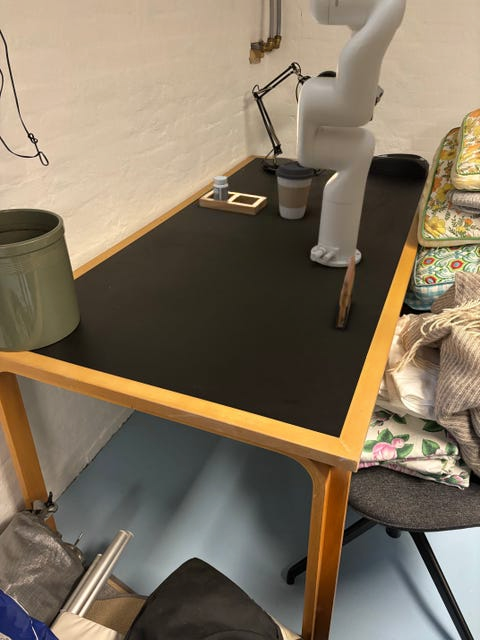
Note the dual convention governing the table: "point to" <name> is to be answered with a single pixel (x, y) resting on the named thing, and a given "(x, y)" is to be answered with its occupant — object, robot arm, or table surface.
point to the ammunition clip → (346, 295)
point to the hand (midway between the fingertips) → (355, 118)
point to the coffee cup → (293, 188)
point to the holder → (235, 203)
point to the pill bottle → (220, 188)
